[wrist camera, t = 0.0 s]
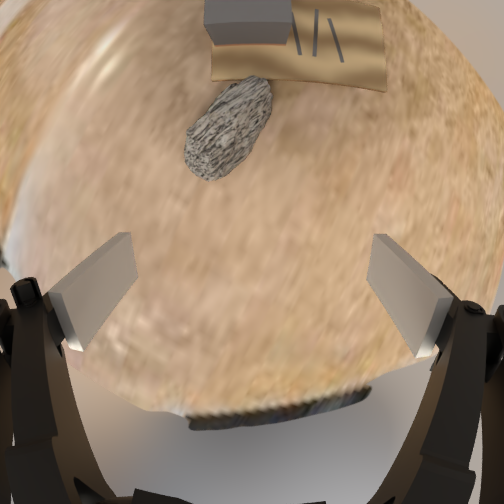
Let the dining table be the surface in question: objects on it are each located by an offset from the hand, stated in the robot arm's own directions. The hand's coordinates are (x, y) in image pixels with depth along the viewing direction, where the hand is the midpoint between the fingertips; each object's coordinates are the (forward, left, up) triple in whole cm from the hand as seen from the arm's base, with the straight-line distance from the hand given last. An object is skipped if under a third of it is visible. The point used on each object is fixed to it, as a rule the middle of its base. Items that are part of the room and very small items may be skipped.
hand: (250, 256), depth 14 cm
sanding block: (-23, -1, -27) cm, 36 cm away
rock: (-7, -3, -28) cm, 29 cm away
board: (-23, +7, -28) cm, 37 cm away
